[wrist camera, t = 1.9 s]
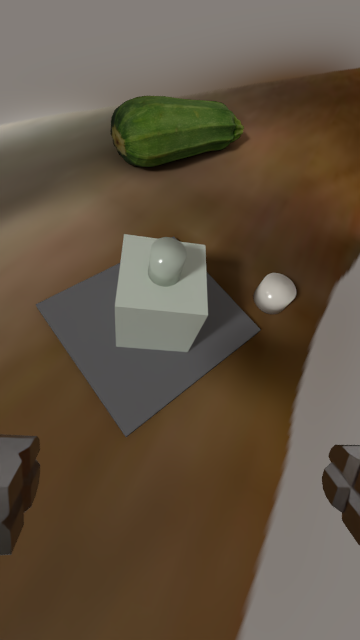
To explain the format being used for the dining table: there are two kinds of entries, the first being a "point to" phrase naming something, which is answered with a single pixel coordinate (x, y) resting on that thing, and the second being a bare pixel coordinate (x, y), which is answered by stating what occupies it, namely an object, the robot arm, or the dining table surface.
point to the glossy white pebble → (274, 293)
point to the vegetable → (171, 129)
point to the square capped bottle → (160, 294)
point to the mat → (134, 363)
